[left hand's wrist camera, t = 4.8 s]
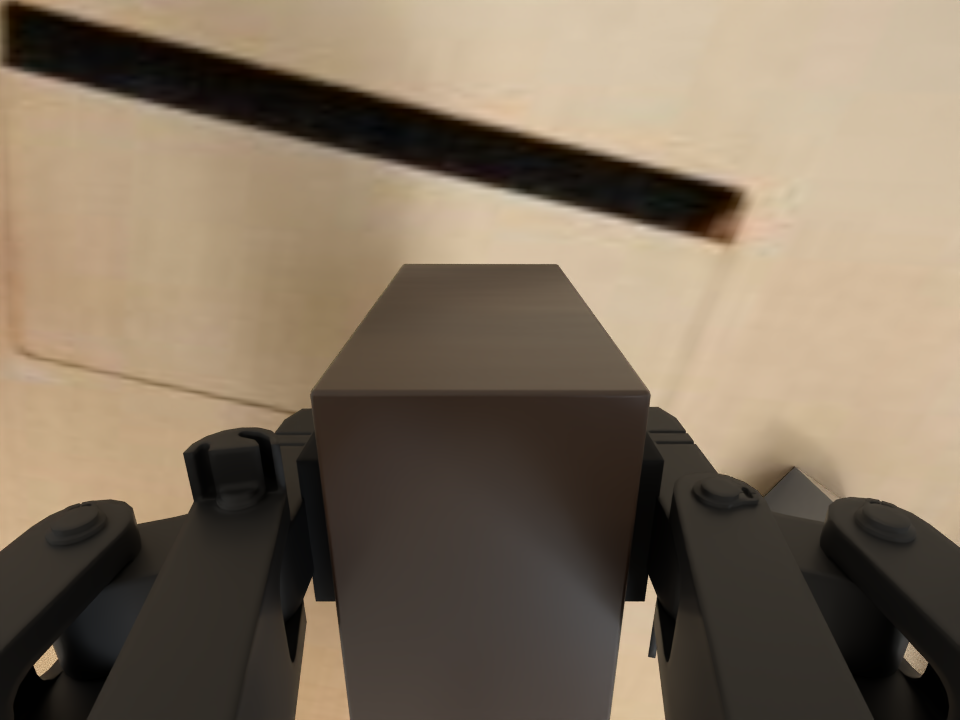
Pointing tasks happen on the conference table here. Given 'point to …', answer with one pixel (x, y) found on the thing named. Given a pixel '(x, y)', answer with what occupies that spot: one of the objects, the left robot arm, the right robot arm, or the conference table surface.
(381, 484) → the plank
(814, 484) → the cube
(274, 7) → the conference table surface
